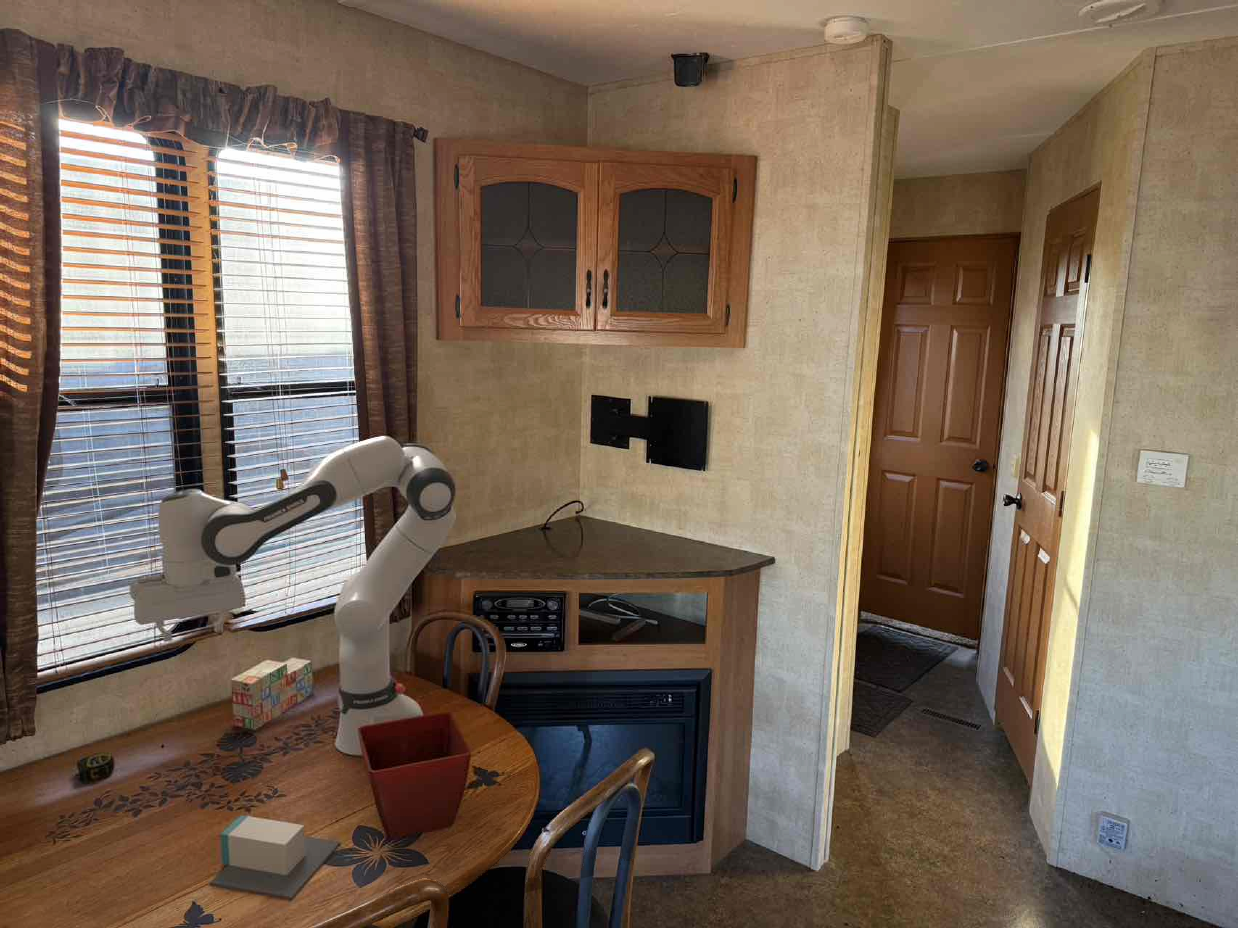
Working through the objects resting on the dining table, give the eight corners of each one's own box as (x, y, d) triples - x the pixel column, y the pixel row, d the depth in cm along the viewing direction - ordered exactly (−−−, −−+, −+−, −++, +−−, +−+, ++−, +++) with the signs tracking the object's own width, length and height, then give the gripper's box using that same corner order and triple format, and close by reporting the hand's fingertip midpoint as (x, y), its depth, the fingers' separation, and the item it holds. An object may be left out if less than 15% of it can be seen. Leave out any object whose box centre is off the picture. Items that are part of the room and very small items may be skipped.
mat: (209, 884, 152) (209, 882, 152) (264, 831, 168) (264, 829, 168) (291, 899, 149) (291, 896, 149) (340, 844, 164) (340, 841, 164)
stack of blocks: (294, 690, 229) (292, 646, 227) (313, 694, 227) (311, 649, 224) (233, 726, 209) (230, 678, 207) (254, 731, 207) (251, 682, 205)
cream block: (241, 814, 162) (304, 825, 159) (243, 844, 163) (305, 854, 160) (220, 833, 156) (285, 844, 154) (222, 863, 157) (286, 875, 155)
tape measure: (77, 772, 187) (75, 756, 187) (114, 764, 191) (112, 748, 190) (79, 787, 182) (77, 771, 181) (116, 778, 185) (115, 762, 185)
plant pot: (359, 801, 179) (356, 725, 176) (452, 783, 186) (450, 709, 183) (372, 855, 161) (369, 772, 158) (473, 832, 169) (472, 752, 166)
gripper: (129, 583, 166) (137, 651, 168) (244, 566, 177) (249, 630, 179) (127, 574, 171) (134, 641, 174) (238, 558, 182) (243, 621, 185)
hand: (193, 635), depth 177 cm, fingers open, 8 cm apart
